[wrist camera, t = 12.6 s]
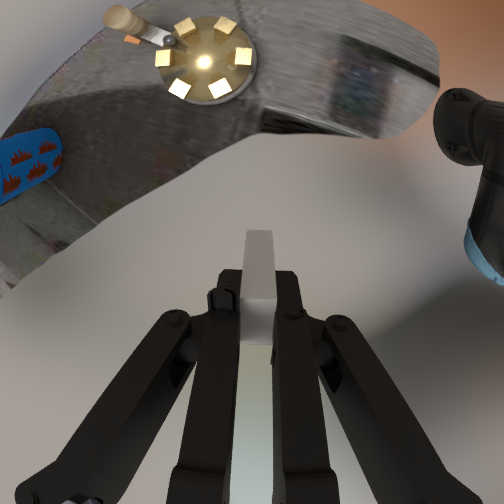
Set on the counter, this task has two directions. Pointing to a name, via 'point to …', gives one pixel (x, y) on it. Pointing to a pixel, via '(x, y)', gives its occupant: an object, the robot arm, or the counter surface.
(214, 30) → the studded brass turntable
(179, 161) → the counter surface
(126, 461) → the robot arm
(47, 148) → the thermos
